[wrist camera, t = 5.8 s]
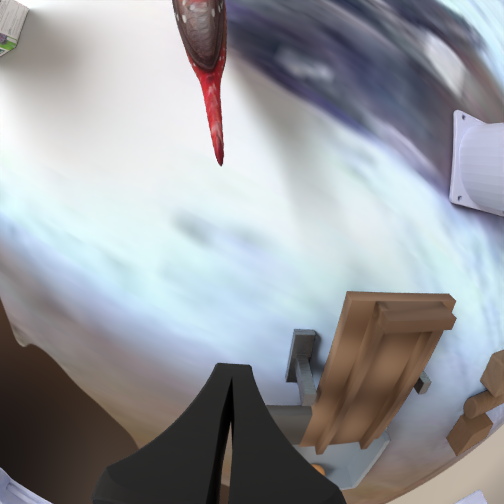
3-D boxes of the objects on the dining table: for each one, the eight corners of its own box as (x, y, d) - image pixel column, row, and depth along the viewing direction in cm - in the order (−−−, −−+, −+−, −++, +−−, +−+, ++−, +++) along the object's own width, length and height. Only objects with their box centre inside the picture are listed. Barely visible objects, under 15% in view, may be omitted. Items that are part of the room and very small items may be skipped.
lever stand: (293, 329, 22) (304, 373, 16) (414, 328, 22) (444, 362, 16) (285, 376, 23) (291, 422, 18) (397, 371, 23) (420, 408, 18)
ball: (321, 485, 25) (320, 466, 28) (328, 481, 23) (327, 460, 26) (298, 487, 25) (297, 467, 27) (304, 484, 23) (303, 462, 26)
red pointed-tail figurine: (218, -29, 13) (201, -109, 4) (253, 164, 18) (252, 156, 9) (183, -22, 14) (151, -97, 4) (210, 172, 18) (165, 173, 9)
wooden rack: (287, 288, 15) (293, 320, 13) (448, 293, 16) (472, 317, 13) (259, 438, 21) (259, 465, 19) (375, 431, 22) (382, 454, 19)
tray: (381, 411, 25) (392, 437, 21) (349, 465, 28) (355, 487, 24) (273, 418, 25) (275, 448, 21) (261, 471, 28) (262, 495, 24)
